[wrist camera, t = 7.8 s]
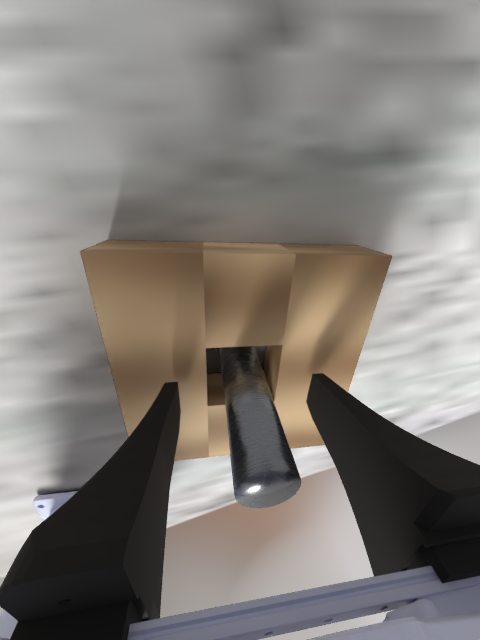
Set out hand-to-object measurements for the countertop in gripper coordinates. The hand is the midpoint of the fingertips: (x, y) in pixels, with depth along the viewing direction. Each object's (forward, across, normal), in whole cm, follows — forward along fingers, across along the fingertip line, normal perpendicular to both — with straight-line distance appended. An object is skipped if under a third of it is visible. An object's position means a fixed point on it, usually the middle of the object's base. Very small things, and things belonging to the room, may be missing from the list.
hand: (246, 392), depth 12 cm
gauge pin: (+4, 0, 0) cm, 4 cm away
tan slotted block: (+4, 0, 0) cm, 4 cm away
